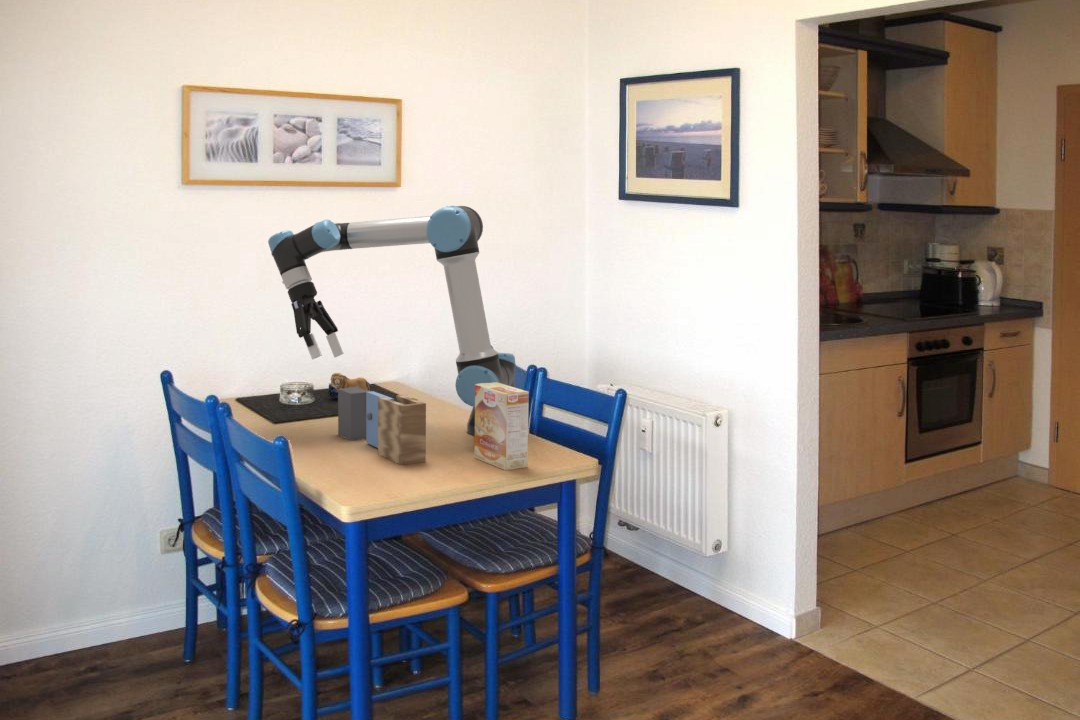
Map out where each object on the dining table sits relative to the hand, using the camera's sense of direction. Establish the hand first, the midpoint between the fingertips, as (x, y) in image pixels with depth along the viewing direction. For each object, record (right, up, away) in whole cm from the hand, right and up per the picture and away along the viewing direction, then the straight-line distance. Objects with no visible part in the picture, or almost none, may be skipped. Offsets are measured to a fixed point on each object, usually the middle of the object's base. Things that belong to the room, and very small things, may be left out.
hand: (328, 356), depth 299 cm
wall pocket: (+22, -26, -20) cm, 39 cm away
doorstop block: (+7, -22, +2) cm, 23 cm away
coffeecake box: (+48, -27, -23) cm, 60 cm away
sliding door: (+16, -24, -11) cm, 31 cm away
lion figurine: (-3, -14, +55) cm, 57 cm away
